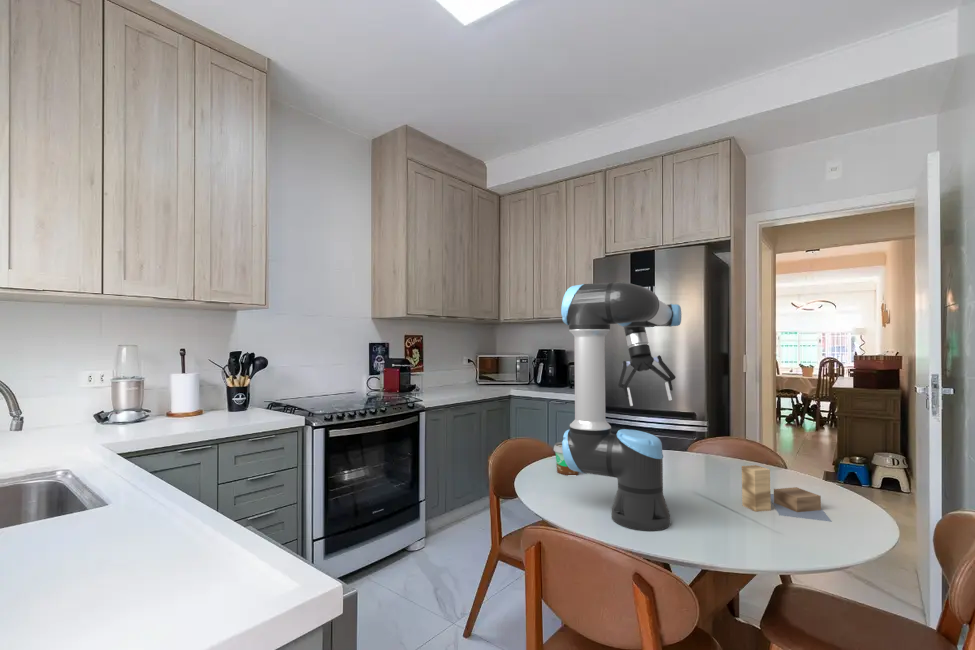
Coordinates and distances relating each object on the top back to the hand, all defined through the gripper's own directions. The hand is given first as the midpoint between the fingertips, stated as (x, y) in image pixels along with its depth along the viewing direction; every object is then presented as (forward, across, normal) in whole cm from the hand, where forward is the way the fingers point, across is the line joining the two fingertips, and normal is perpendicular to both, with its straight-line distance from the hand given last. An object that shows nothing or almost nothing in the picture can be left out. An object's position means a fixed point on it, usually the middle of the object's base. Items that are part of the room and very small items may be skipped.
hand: (650, 403), depth 169 cm
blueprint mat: (+36, -31, +19) cm, 52 cm away
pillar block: (+35, -19, +23) cm, 46 cm away
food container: (+20, +35, -3) cm, 41 cm away
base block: (+36, -31, +19) cm, 51 cm away
